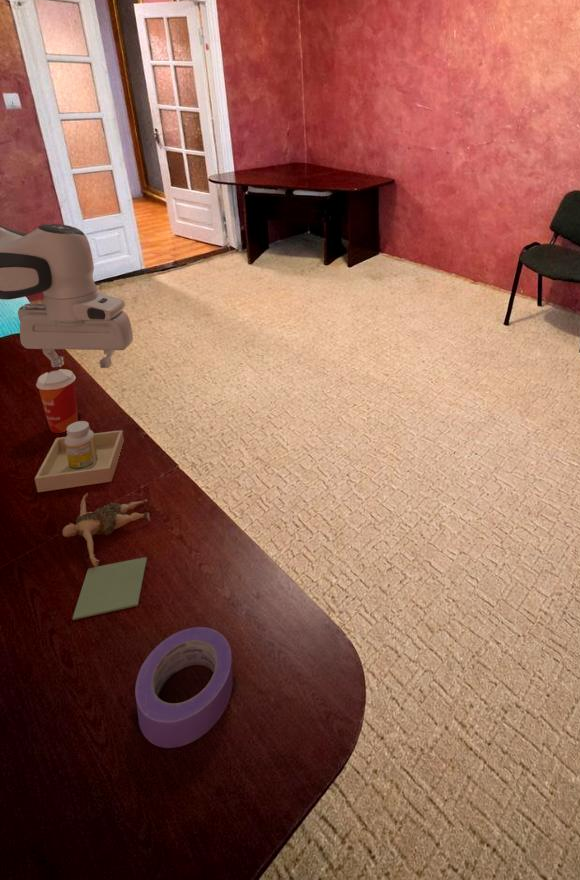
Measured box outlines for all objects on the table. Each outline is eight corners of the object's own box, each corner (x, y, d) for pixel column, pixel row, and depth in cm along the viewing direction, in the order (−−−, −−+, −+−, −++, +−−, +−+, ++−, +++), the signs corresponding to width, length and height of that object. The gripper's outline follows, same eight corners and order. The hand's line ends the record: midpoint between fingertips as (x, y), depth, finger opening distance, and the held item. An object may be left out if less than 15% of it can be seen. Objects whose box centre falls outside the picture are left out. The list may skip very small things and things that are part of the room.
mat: (72, 620, 74) (72, 618, 74) (88, 570, 82) (88, 568, 82) (138, 605, 77) (137, 603, 77) (147, 558, 85) (146, 556, 85)
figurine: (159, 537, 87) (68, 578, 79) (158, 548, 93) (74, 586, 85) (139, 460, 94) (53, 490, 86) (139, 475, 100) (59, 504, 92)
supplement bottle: (86, 473, 102) (80, 435, 99) (62, 470, 103) (55, 432, 100) (103, 457, 107) (98, 420, 104) (80, 454, 108) (74, 417, 105)
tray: (37, 492, 97) (34, 478, 96) (58, 450, 109) (56, 437, 108) (111, 481, 101) (109, 467, 100) (124, 442, 113) (122, 429, 112)
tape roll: (218, 634, 73) (216, 610, 72) (245, 708, 65) (244, 682, 63) (131, 683, 66) (127, 658, 65) (148, 772, 58) (144, 746, 56)
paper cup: (42, 424, 117) (32, 374, 113) (79, 414, 122) (71, 365, 118) (47, 441, 112) (37, 388, 107) (86, 429, 117) (78, 378, 112)
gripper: (5, 309, 92) (18, 373, 96) (118, 312, 94) (126, 374, 99) (26, 297, 98) (38, 358, 102) (132, 300, 100) (139, 359, 105)
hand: (82, 366), depth 101 cm, fingers open, 8 cm apart
